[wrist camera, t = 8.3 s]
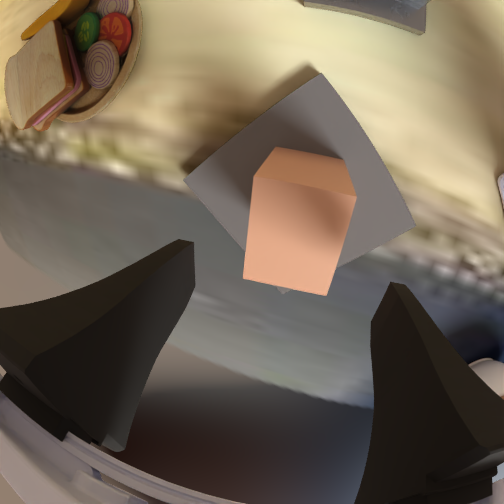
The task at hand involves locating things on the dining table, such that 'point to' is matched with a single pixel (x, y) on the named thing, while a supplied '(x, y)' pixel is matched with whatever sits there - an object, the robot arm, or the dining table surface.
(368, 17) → the vise
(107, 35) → the toy sandwich meal
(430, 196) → the dining table surface
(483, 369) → the lidded jar
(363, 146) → the mat
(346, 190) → the block
